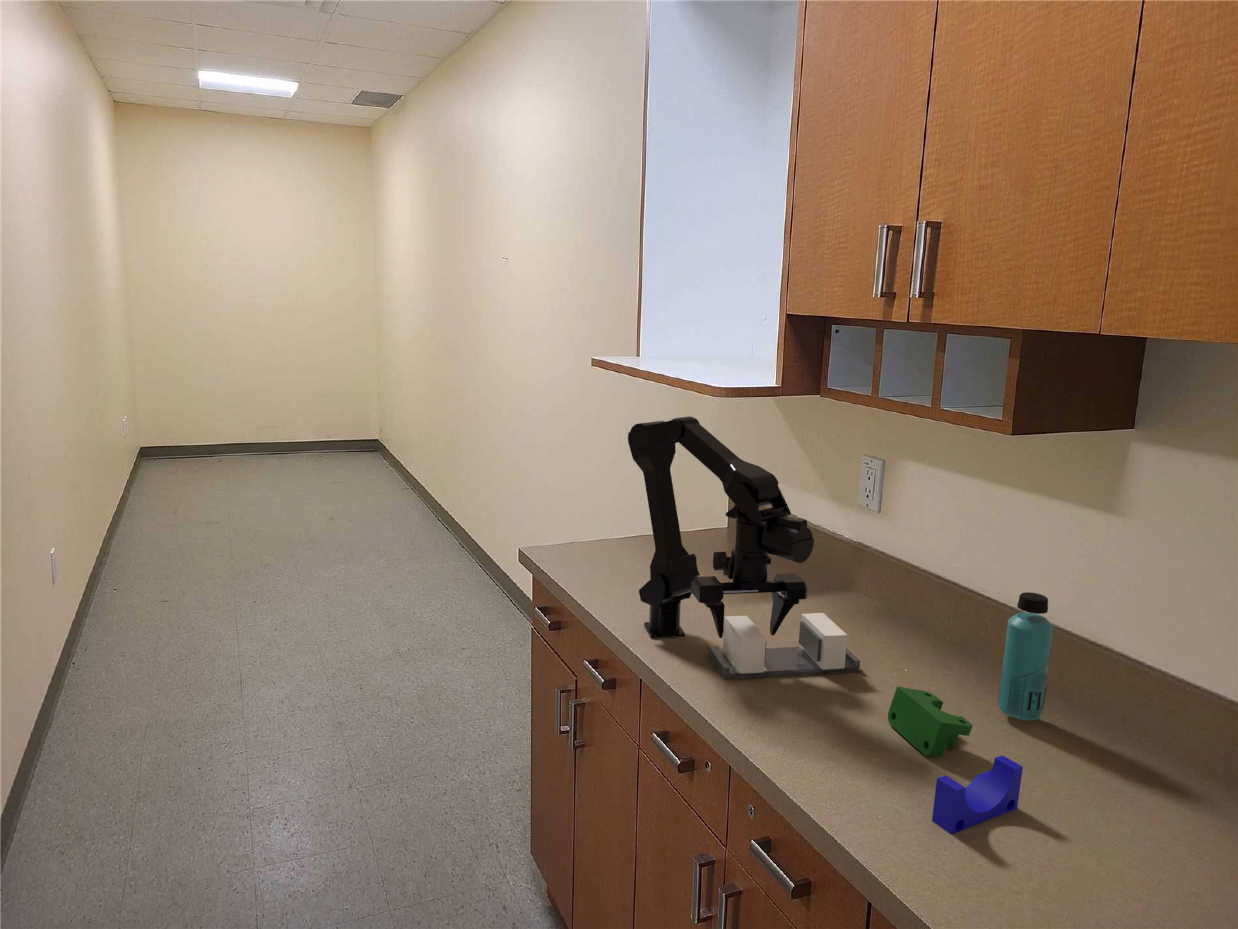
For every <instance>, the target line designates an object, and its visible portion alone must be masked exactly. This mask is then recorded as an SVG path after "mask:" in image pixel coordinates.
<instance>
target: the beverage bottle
mask: <svg viewBox="0 0 1238 929" xmlns="http://www.w3.org/2000/svg"><path fill="white" fill-rule="evenodd" d="M1017 609H1019V610H1021V611H1022V612H1018V613H1015V615H1012V616H1011V617H1010V618H1008V619H1007V629H1006V637H1005V646H1004V647H1005V648H1004V655H1003V658H1002V666H1001V674H1000V678H999V680H1000V681H999V686H998V687H999V688H998V692H997V701H996V703H997V705H998V709H999V710H1000V711H1001V713H1003V714H1005V715H1007V716H1009V717H1011V718H1014V719H1018V720H1022V721H1023V720H1024V721H1036V720H1038V719H1040V718H1041V717H1042V715H1043V712H1044V709H1045V708H1044V707H1045V706H1044V705H1045V703H1046V695H1047V682H1048V672H1049V666H1050V664H1051V662H1050V660H1051V655H1052V639H1053V632H1054V625H1052V623H1051V622H1050V621H1049V619H1047V618H1046V617H1045V616H1043V615H1041V614H1047V613H1048V610H1049V598H1048V597H1047V596H1046V595H1043V594H1041V593H1036V592H1032V591H1031V592H1029V591H1028V592H1027V591H1026V592H1022V593H1020V594H1019V597H1018V601H1017Z"/></svg>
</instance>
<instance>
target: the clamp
mask: <svg viewBox="0 0 1238 929" xmlns="http://www.w3.org/2000/svg"><path fill="white" fill-rule="evenodd" d="M943 704H944V701H943V700H942V699H940V698H939V697H937V695H935V694H933V693H932V692H928V691H925V690H923V689H922V690H920V689H915V688H909V687H904V686H903V687H902V686H896V689H895V691H894V694H893V697H892V700H891V703H890V706H889V709H888V713H887V720H888V721H887V722H888V724H889V725H890V726H891V727H893V729H894V730H896V731H897V732H898V733H899V734H900V735H901V736H902V737H903V738H904V739H906V740H907V741H908V742H909V743H910V744H912V746H914V747H915V748H916V749H917V750H918V751H919V752H920V753H921V754H922V755H924V756H929V757H935V758H936V757H937V758H940V757H943V755H944V753H945V752H946V748H955V747H956V744H957V741H958V739H959V736H960V735H961V736H966V737H969V736H971V735H970V734H971V732H972V729H973V723H971V722H970V721H969V720H968V719H966V718H965V717H963V716H959V715H954V714H951V713H948V712H946V711H943V710H942V708H943Z"/></svg>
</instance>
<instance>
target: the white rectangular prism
mask: <svg viewBox="0 0 1238 929" xmlns="http://www.w3.org/2000/svg"><path fill="white" fill-rule="evenodd" d="M722 639H723V640H722V650H724V651H725V652H726V654H727V655H728V657H729V658H730V659H731V661H732V662H733V664H734V665H735V666H736V668H737V669H738V671H739V672H740V673H759V672H764V664H765V655H766V648H767V639H766V637H765V635H764V634H763V633H762V632H761V631H760V629H759V628H758V627H757V626H756V625H755V624H754V622H753V621H752V620H751V619H750V617H748V615H729V616H728V615H727V616H725V615H724V631H723V637H722Z"/></svg>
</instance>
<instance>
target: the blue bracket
mask: <svg viewBox="0 0 1238 929" xmlns="http://www.w3.org/2000/svg"><path fill="white" fill-rule="evenodd" d="M1023 767H1024V766H1023V765H1021V764H1019V763H1017V762H1015V761H1013V760H1012V759H1011V758H1009V757H1007V756H1005V755H1003V754H1002V755H999V756H997V757H994V759H993V764H992V768H991V770H988V771H985V772H982V773H979V774H977V775H975V777H974V778H973V780H971V781H970V783H969V784H968V785H967V786H965V785H962V784H961V783H959V782H957V781H955V779H952V778H951V777H949V776H948V775H942V776H939V777H937V778H936V781H935V782H936V784H935V791H934V801H933V802H934V803H933V809H932V817H931V822H933V823H934V824H935V825H937V826H938V827H940V828H941V829H943V830H945V832H947V833H949V834H950V835H953V834H956V833H959V832H961V831H964V830H966V829H969V828H971V827H974V826H977V825H979V824H982V823H984V822H986V821H989V820H992V819H995V818H997V817H1000V816H1001V815H1004V814H1007V813H1009V812H1012V811H1013V810H1017V809H1018V806H1019V797H1020V791H1021V784H1022V783H1021V782H1022V778H1023V770H1024V768H1023Z"/></svg>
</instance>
